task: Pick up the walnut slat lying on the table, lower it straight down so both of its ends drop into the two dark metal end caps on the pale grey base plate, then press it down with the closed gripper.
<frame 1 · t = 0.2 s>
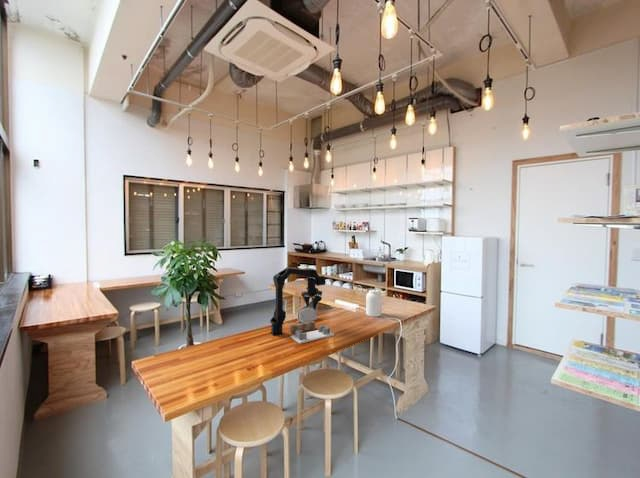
hand: (311, 307, 216), 14 cm above the table, tool pointing down, fingers open, 9 cm apart
can: (373, 314, 246), on the table
end cap plate: (312, 336, 198), on the table
slat: (302, 330, 209), on the table
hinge: (307, 320, 232), on the table
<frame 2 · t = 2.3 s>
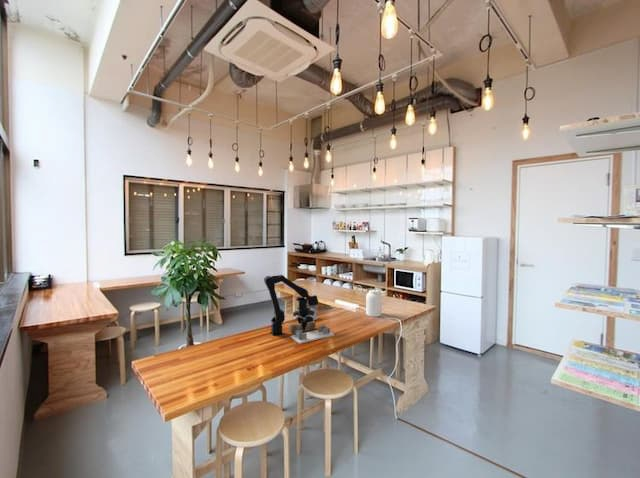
hand: (302, 328, 209), 1 cm above the table, tool pointing down, fingers closed on slat, 3 cm apart
slat: (302, 330, 209), on the table, touching gripper
everything else where it was.
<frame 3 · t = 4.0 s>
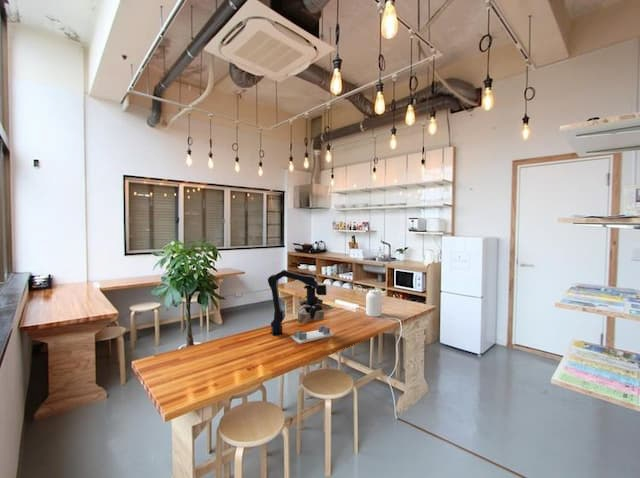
hand: (311, 318, 200), 11 cm above the table, tool pointing down, fingers closed on slat, 3 cm apart
slat: (311, 320, 200), point 10 cm above the table, touching gripper
everything else where it was.
when the fingers open (3 cm above the table, at t = 5.7 s): slat stays where it is, resting on end cap plate.
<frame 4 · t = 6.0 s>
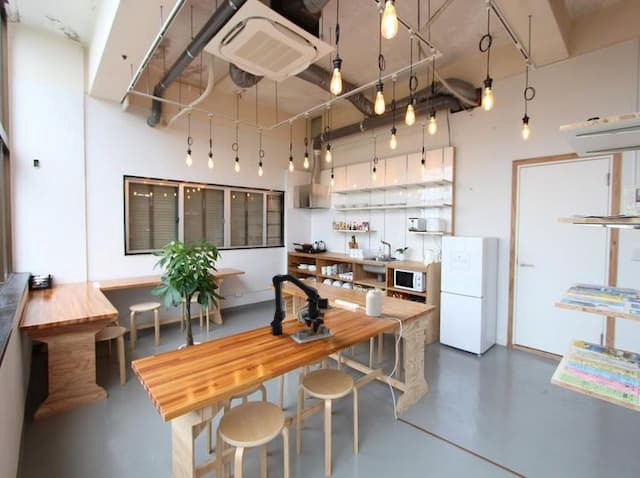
hand: (312, 331, 198), 3 cm above the table, tool pointing down, fingers open, 7 cm apart
slat: (312, 334, 198), point 1 cm above the table, touching end cap plate
everything else where it was.
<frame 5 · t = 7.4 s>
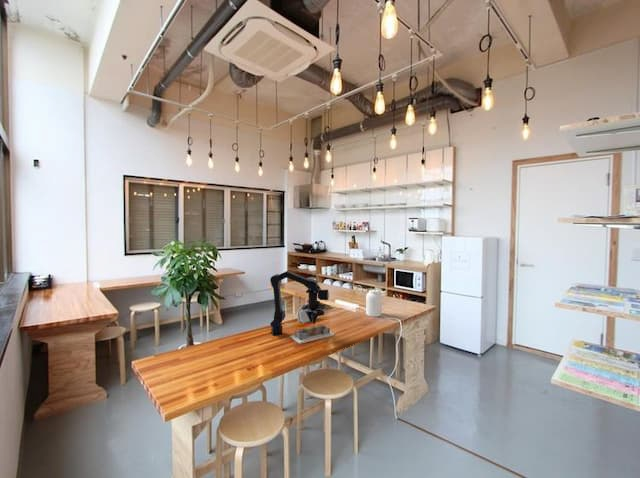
hand: (312, 322, 198), 9 cm above the table, tool pointing down, fingers open, 3 cm apart
nothing on the table moved.
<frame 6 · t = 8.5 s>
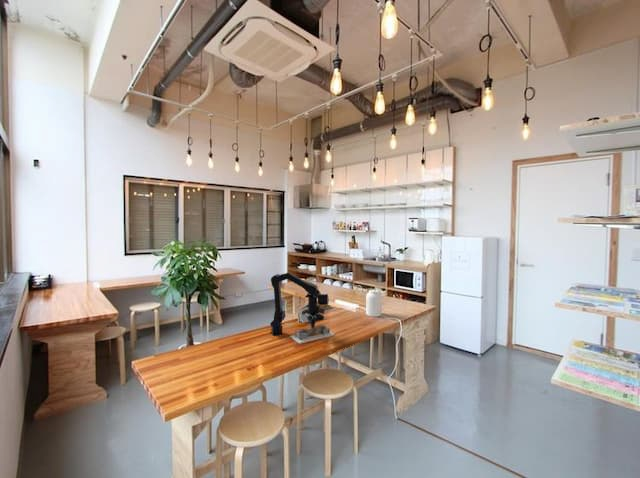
hand: (312, 327, 198), 6 cm above the table, tool pointing down, fingers closed, pressing on slat
slat: (312, 334, 198), point 1 cm above the table, touching end cap plate, gripper
everything else where it was.
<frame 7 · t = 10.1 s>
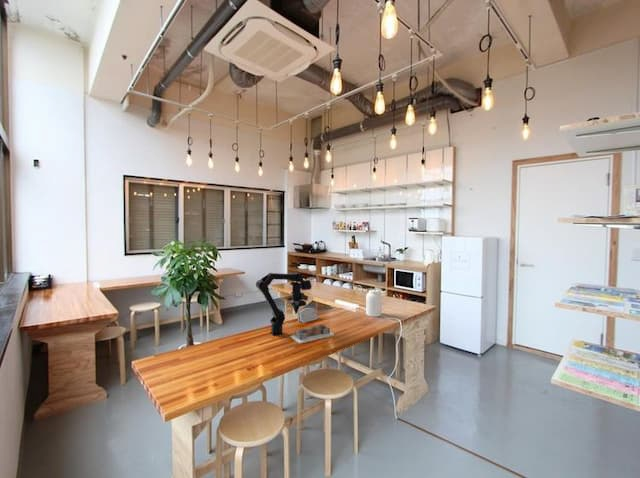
hand: (296, 313, 209), 12 cm above the table, tool pointing down, fingers closed
slat: (312, 334, 198), point 1 cm above the table, touching end cap plate
everything else where it was.
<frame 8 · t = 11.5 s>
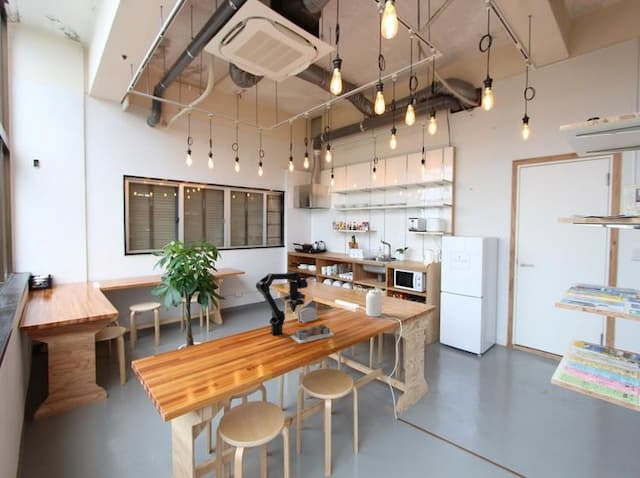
hand: (293, 312, 211), 12 cm above the table, tool pointing down, fingers closed
nothing on the table moved.
at the end: slat 0.1 cm off-centre on the end cap plate, point 1.0 cm above the end cap plate's base; slat tilted 0°; the gripper is holding nothing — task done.
